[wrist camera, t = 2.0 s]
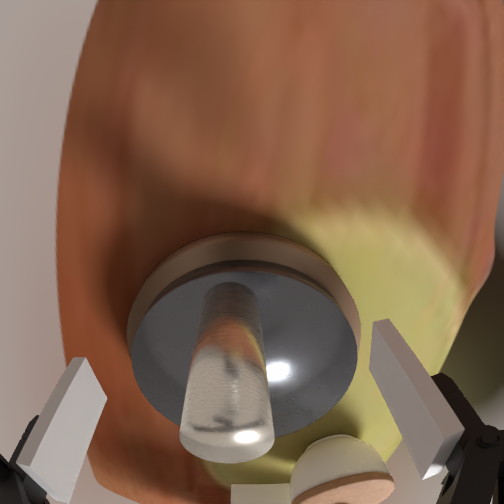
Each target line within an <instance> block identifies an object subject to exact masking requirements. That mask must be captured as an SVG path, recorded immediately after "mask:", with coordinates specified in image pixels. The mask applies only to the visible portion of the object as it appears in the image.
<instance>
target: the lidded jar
mask: <svg viewBox="0 0 504 504" xmlns="http://www.w3.org/2000/svg"><path fill="white" fill-rule="evenodd" d="M394 488H395V483H394V481H393V478H392V476H391V475H390V473H389V470H388V468H387V466H386V464H385V462H384V460H383V458H382V457H381V455H380V454H379V452H378V451H377V450H376V449H375V448H374V447H373V446H371V445H370V444H369V443H367V442H365V441H363V440H360V439H357V438H354V437H353V436H351V435H347V434H336V435H331V436H327V437H324V438H321V439H319V440H317V441H315V442H313V443H312V444H310V445H309V446H308V447H307V448H306V450H305V452H304V453H303V454H302V455H301V457H300V458H299V459H298V460H297V462H296V464H295V466H294V468H293V470H292V473H291V480H290V499H291V504H379V503H380V502H382V501H383V500H385V499H386V498H387V497H388V496H389V495H390V494H391V493H392V492H393V490H394Z"/></svg>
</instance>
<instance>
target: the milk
mask: <svg viewBox="0 0 504 504" xmlns="http://www.w3.org/2000/svg"><path fill="white" fill-rule="evenodd" d="M231 504H291V499H290V483H283V484H231Z"/></svg>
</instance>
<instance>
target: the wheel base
mask: <svg viewBox="0 0 504 504" xmlns="http://www.w3.org/2000/svg"><path fill="white" fill-rule="evenodd" d="M241 259H243V260H261V261H268V262H274V263H278V264H281V265H285V266H288V267H291V268H293V269H296V270H298V271H300V272H303V273H305V274H306V275H308V276H310V277H311V278H313V279H314V280H316V281H317V282H319V283H320V284H321V285H322V286H323V287H325V288H326V289H327V290H328V291H329V292H330V293H331V295H332V296H333V297H334V298H335V299H336V301H337V302H338V304H339V306H340V307H341V309H342V311H343V312H344V314H345V316H346V318H347V320H348V322H349V324H350V325H351V328H352V330H353V333H354V335H355V339H356V344H357V354H358V351H359V346H360V339H361V324H360V319H359V314H358V310H357V307H356V305H355V302H354V300H353V298H352V296H351V295H350V293H349V291H348V289H347V288H346V286H345V285H344V283H343V282H342V280H341V278H340V277H339V275H338V274H337V273H336V272H335V271H334V269H333V268H332V267H331V266H330V265H329V264H328V263H327V262H326V261H325V260H324V259H323V258H321V257H320V256H319V255H318V254H316V253H315V252H313V251H312V250H310V249H309V248H307V247H306V246H303V245H301V244H299V243H297V242H295V241H293V240H290V239H287V238H284V237H280V236H277V235H273V234H267V233H261V232H245V231H239V232H228V233H221V234H216V235H212V236H207V237H204V238H202V239H199V240H196V241H193V242H191V243H189V244H187V245H185V246H183V247H181V248H179V249H177V250H176V251H175V252H173V253H172V254H170V255H169V256H168V257H166V258H165V259H164V260H163V261H162V262H161V263H160V264H159V265H158V266H157V267H156V268H155V269H154V270H153V271H152V273H151V274H150V275H149V277H148V278H147V279H146V281H145V283H144V284H143V286H142V288H141V290H140V292H139V293H138V295H137V297H136V299H135V301H134V303H133V305H132V308H131V311H130V314H129V317H128V324H127V345H128V350H129V355H130V357H131V360H132V347H133V341H134V338H135V335H136V332H137V330H138V328H139V325H140V323H141V321H142V319H143V317H144V314H145V313H146V311H147V309H148V307H149V305H150V304H151V302H152V301H153V300H154V298H155V297H156V296H157V295H158V293H160V292H161V291H162V290H163V289H164V288H165V287H166V286H167V285H168V284H170V283H171V282H173V281H174V280H175V279H177V278H178V277H180V276H182V275H184V274H186V273H188V272H190V271H192V270H194V269H197V268H199V267H202V266H205V265H208V264H213V263H217V262H222V261H229V260H241Z"/></svg>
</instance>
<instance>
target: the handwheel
mask: <svg viewBox="0 0 504 504" xmlns="http://www.w3.org/2000/svg"><path fill="white" fill-rule="evenodd" d="M356 365H357V344H356V339H355V335H354V333H353V330H352V328H351V325H350V324H349V322H348V320H347V318H346V316H345V314H344V312H343V311H342V309H341V307H340V306H339V304H338V302H337V301H336V299H335V298H334V297H333V296H332V295H331V293H330V292H329V291H328V290H327V289H326V288H325V287H323V286H322V285H321V284H320V283H319V282H317V281H316V280H314V279H313V278H311V277H310V276H308V275H306V274H305V273H303V272H300V271H298V270H296V269H293V268H291V267H288V266H285V265H281V264H278V263H274V262H268V261H261V260H243V259H241V260H229V261H222V262H217V263H213V264H208V265H205V266H202V267H199V268H197V269H194V270H192V271H190V272H188V273H186V274H184V275H182V276H180V277H178V278H177V279H175V280H174V281H173V282H171V283H170V284H168V285H167V286H166V287H165V288H164V289H163V290H162V291H161V292H160V293H158V295H157V296H156V297H155V298H154V300H153V301H152V302H151V304H150V305H149V307H148V309H147V311H146V313H145V314H144V317H143V319H142V321H141V323H140V325H139V328H138V330H137V332H136V335H135V338H134V341H133V347H132V367H133V372H134V376H135V378H136V381H137V383H138V386H139V388H140V389H141V391H142V393H143V394H144V396H145V397H146V398H147V400H148V401H149V402H150V404H151V405H152V406H153V407H154V408H155V409H156V410H157V411H158V412H160V413H161V414H162V415H163V416H165V417H166V418H167V419H169V420H170V421H172V422H174V423H175V424H177V425H179V426H180V432H179V438H180V441H181V444H182V445H183V446H184V448H185V449H186V450H188V451H189V452H190V453H192V454H193V455H195V456H197V457H199V458H202V459H205V460H208V461H212V462H217V463H241V462H246V461H250V460H253V459H256V458H258V457H260V456H262V455H264V454H265V453H267V452H268V451H269V450H270V449H271V447H272V446H273V444H274V440H275V438H276V437H280V436H284V435H287V434H289V433H292V432H295V431H297V430H300V429H302V428H304V427H306V426H308V425H310V424H311V423H313V422H315V421H317V420H318V419H319V418H321V417H322V416H324V415H325V414H326V413H327V412H328V411H330V410H331V409H332V408H333V407H334V406H335V405H336V404H337V403H338V402H339V400H340V399H341V398H342V397H343V395H344V394H345V392H346V391H347V389H348V387H349V385H350V383H351V381H352V379H353V376H354V373H355V370H356Z"/></svg>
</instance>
